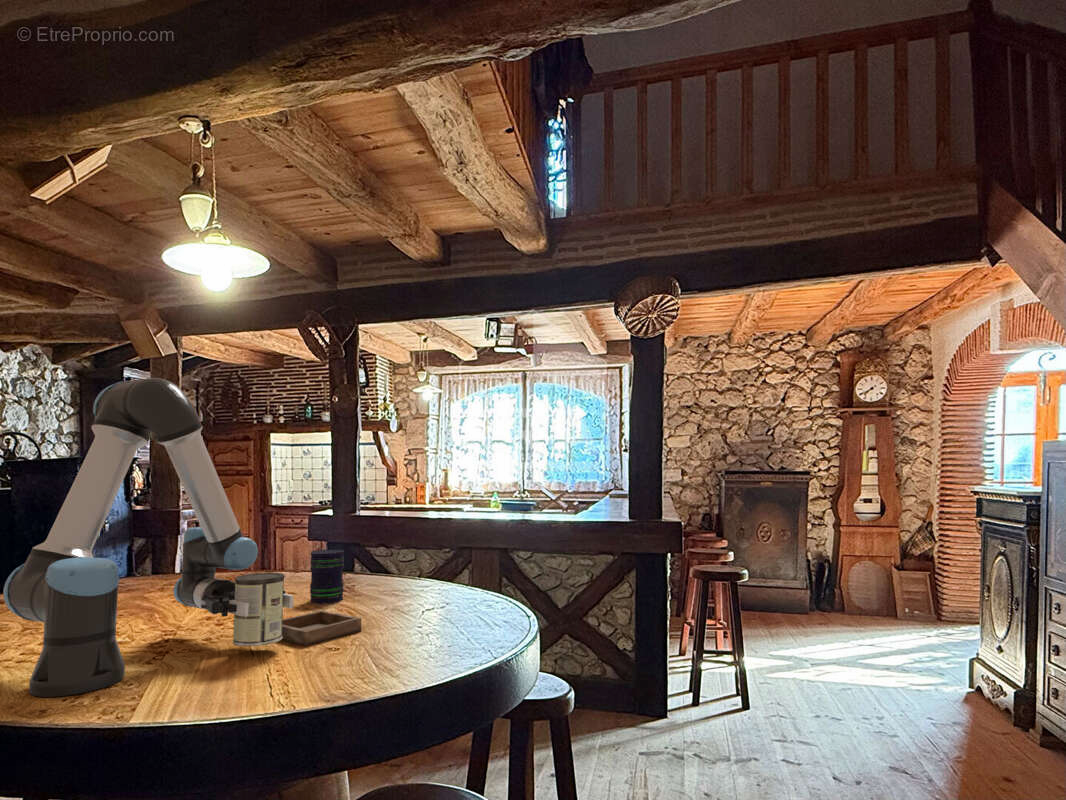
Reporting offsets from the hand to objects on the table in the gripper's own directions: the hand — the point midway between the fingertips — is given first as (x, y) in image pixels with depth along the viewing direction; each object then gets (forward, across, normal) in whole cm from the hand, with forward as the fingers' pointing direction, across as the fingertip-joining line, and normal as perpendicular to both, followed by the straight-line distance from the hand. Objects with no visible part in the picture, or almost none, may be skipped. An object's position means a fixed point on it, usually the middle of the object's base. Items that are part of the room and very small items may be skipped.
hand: (269, 605), depth 142 cm
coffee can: (-4, 0, -8) cm, 9 cm away
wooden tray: (-8, -17, -10) cm, 22 cm away
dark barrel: (-39, -43, -10) cm, 59 cm away
